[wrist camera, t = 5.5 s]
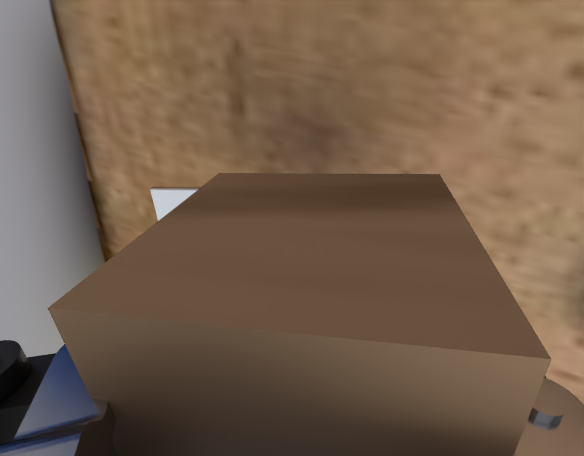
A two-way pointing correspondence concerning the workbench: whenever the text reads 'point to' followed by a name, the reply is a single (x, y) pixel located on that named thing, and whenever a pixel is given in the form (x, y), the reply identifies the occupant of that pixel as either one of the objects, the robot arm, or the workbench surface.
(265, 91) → the workbench surface
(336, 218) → the walnut block
